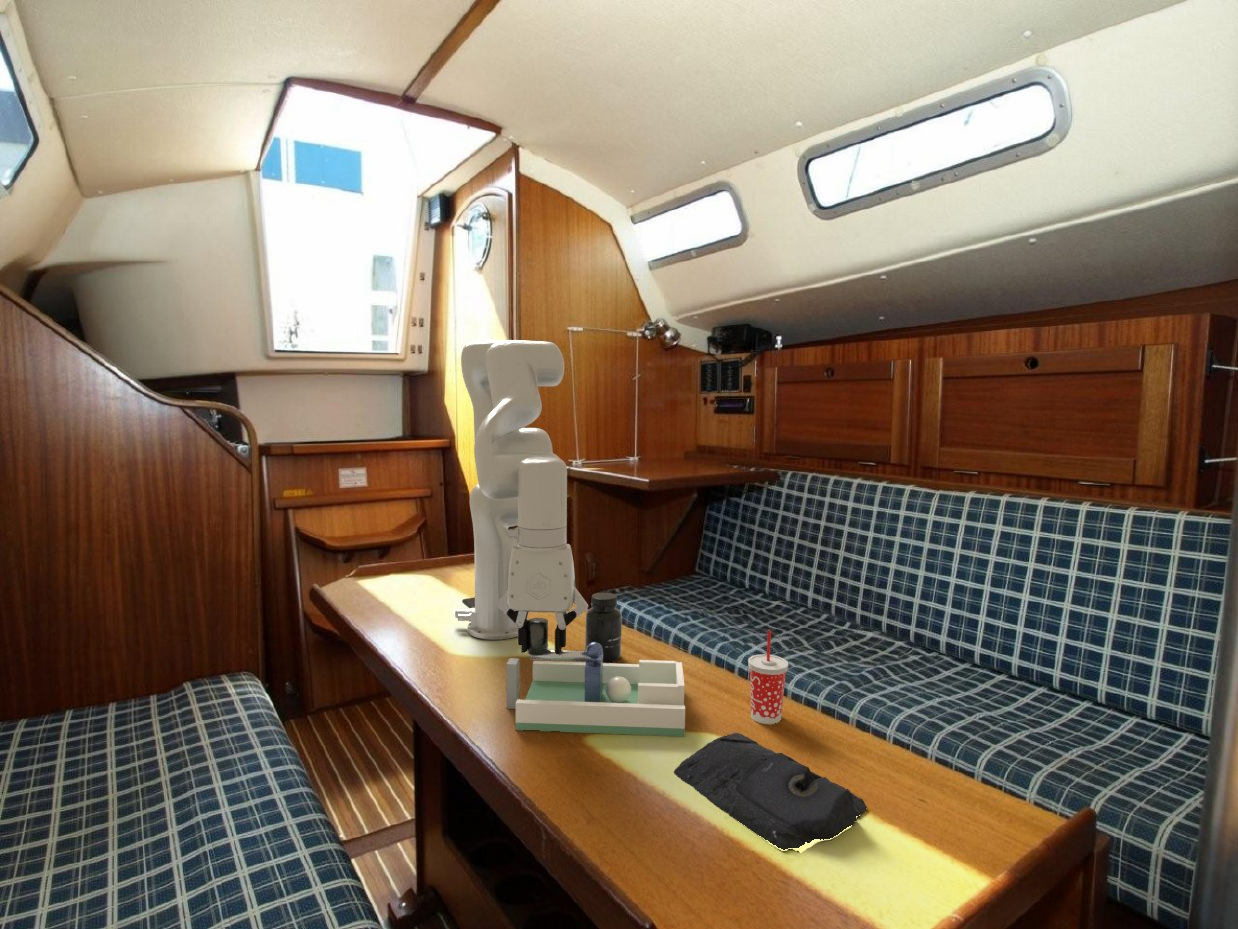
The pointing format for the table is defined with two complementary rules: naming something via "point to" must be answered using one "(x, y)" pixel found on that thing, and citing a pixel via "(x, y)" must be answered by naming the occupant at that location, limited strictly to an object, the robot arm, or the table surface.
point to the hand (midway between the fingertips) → (542, 649)
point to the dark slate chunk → (769, 792)
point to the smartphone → (469, 602)
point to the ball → (618, 689)
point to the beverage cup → (767, 686)
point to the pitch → (565, 710)
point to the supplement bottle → (604, 625)
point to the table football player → (568, 657)
